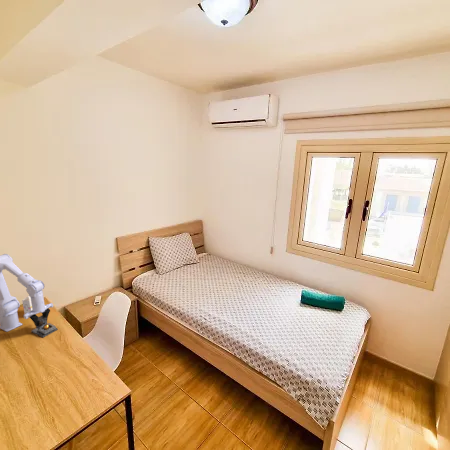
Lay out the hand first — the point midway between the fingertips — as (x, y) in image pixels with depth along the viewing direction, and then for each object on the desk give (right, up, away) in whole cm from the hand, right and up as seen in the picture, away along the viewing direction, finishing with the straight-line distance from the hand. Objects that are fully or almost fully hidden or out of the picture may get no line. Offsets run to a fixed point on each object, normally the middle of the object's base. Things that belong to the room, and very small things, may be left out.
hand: (41, 323), depth 144 cm
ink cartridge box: (-18, -1, +18) cm, 25 cm away
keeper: (+2, -4, 0) cm, 5 cm away
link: (+3, -3, -1) cm, 4 cm away
